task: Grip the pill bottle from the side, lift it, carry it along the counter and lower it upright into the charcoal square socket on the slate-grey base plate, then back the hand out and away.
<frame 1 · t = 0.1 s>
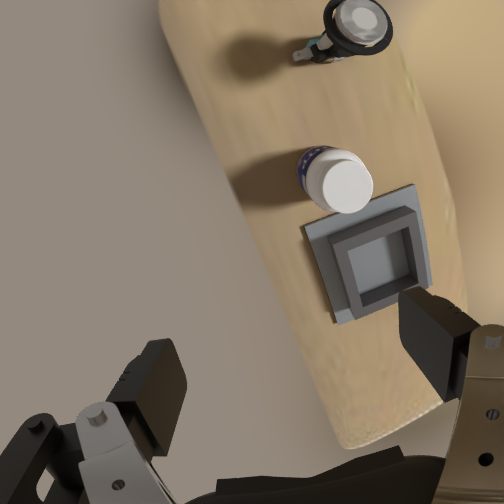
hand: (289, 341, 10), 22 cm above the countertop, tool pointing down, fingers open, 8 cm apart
push button: (323, 50, 26), on the countertop
socket: (375, 257, 34), on the countertop
pill bottle: (321, 171, 30), on the countertop
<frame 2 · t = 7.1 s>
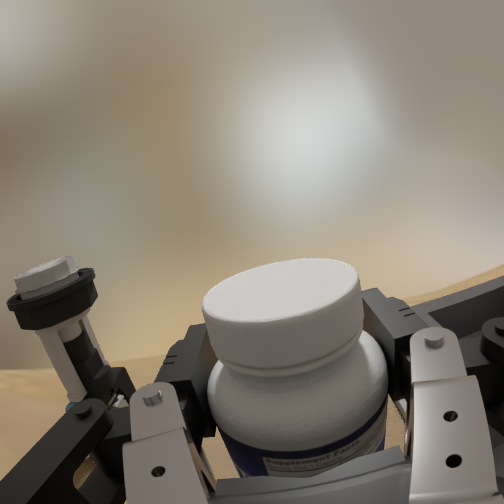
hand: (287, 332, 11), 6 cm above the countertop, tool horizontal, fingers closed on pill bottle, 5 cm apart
push button: (109, 429, 15), on the countertop
socket: (502, 368, 12), on the countertop
pill bottle: (316, 485, 10), on the countertop, touching gripper
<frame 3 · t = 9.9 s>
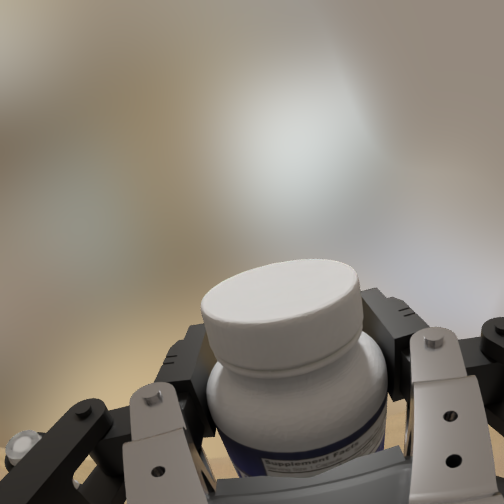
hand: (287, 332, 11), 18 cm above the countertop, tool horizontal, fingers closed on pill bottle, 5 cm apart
pill bottle: (315, 486, 10), point 12 cm above the countertop, touching gripper
when the fingers open (9 cm above the countertop, at t = 12.8 s): pill bottle drops 2 cm, resting on socket.
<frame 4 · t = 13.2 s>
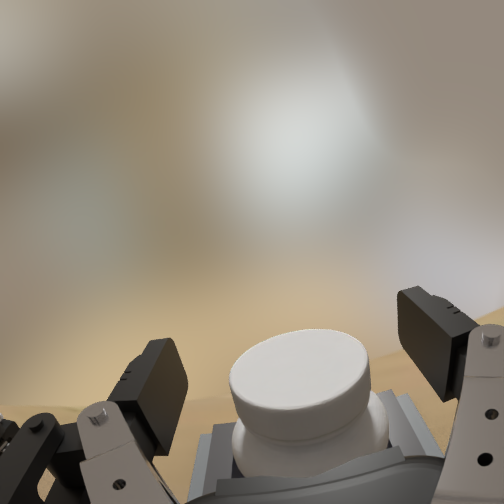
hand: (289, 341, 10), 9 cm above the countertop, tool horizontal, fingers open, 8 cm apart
push button: (7, 465, 14), on the countertop
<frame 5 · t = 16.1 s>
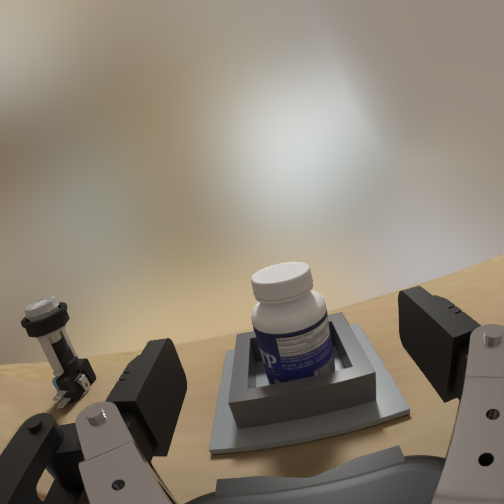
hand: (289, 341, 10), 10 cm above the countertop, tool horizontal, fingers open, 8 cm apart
push button: (77, 394, 27), on the countertop
socket: (301, 382, 23), on the countertop
pill bottle: (302, 379, 23), resting on socket
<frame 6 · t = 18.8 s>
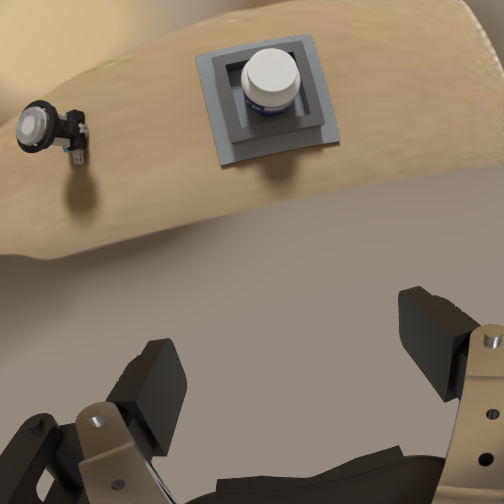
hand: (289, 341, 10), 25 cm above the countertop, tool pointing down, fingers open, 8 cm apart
push button: (79, 138, 33), on the countertop
socket: (267, 94, 31), on the countertop
pill bottle: (268, 95, 31), resting on socket
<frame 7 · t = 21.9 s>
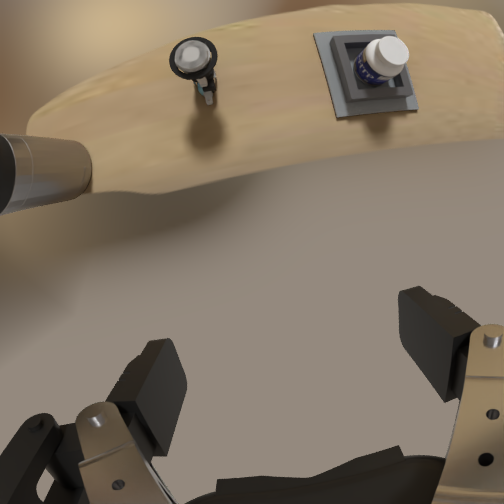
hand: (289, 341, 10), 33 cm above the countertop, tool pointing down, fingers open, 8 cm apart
push button: (206, 83, 38), on the countertop
socket: (367, 70, 37), on the countertop
pill bottle: (369, 70, 37), resting on socket
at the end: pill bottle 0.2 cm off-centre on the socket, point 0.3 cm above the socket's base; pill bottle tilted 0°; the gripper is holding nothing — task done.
